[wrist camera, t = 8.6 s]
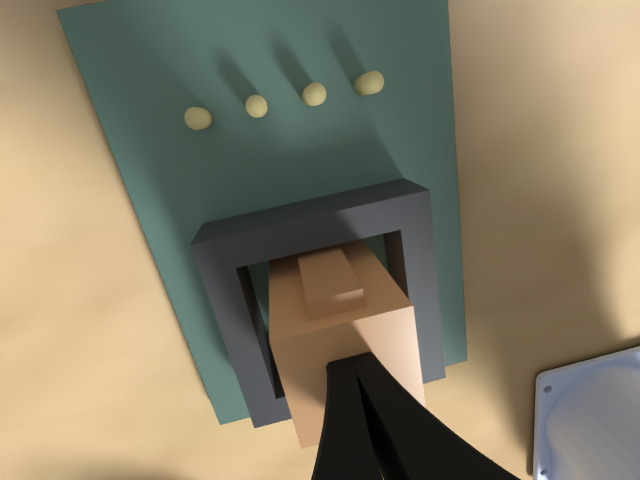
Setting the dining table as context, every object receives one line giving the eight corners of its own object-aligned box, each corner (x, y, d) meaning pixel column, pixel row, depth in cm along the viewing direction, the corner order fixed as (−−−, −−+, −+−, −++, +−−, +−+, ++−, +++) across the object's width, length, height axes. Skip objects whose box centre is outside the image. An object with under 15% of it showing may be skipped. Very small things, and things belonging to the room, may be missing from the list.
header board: (457, 348, 19) (496, 396, 16) (222, 409, 18) (212, 472, 15) (431, -48, 13) (486, -103, 10) (72, 18, 12) (-1, -18, 9)
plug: (372, 313, 17) (426, 414, 11) (290, 334, 16) (301, 448, 11) (357, 222, 15) (410, 286, 9) (265, 244, 15) (263, 323, 9)
